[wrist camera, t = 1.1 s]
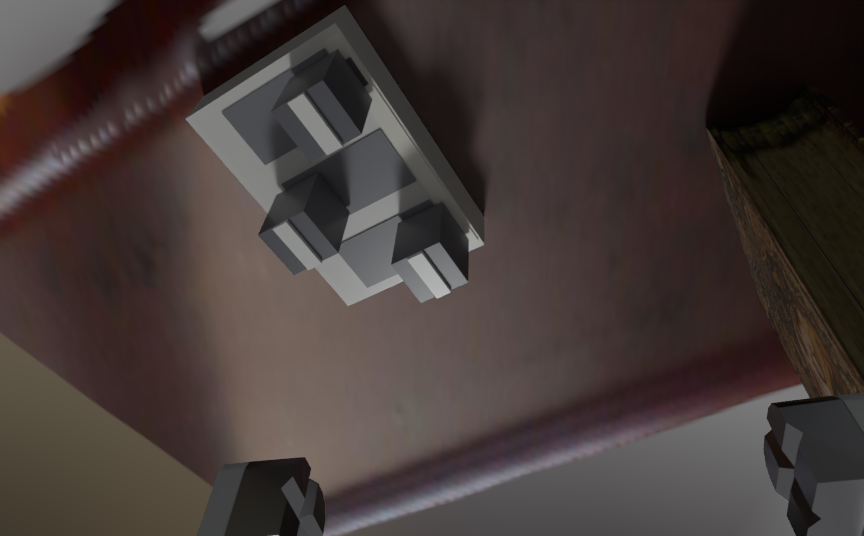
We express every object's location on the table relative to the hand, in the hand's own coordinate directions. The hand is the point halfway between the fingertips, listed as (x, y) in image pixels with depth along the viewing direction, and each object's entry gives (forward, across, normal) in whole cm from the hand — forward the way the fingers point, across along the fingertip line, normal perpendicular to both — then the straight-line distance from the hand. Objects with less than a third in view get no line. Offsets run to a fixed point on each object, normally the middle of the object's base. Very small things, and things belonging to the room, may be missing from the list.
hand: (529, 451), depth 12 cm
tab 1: (+25, +8, +1) cm, 26 cm away
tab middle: (+25, +11, +8) cm, 28 cm away
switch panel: (+28, +9, +7) cm, 31 cm away
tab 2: (+25, +5, +11) cm, 28 cm away
